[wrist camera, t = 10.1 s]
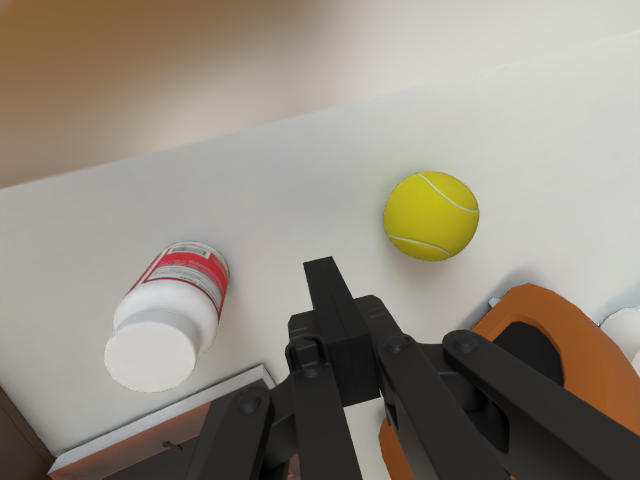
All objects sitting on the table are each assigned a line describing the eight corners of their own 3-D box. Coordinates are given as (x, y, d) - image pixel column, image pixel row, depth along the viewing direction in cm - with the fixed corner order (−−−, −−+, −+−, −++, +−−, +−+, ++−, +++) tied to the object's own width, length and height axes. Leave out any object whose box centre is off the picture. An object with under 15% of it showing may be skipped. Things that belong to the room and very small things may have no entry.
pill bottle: (181, 315, 29) (135, 420, 18) (138, 260, 27) (58, 345, 16) (243, 283, 29) (231, 371, 18) (204, 226, 26) (166, 290, 16)
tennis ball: (396, 153, 27) (437, 162, 21) (460, 185, 29) (517, 203, 22) (359, 227, 29) (387, 257, 22) (423, 253, 31) (465, 287, 24)
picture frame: (262, 360, 32) (61, 450, 32) (262, 379, 30) (45, 476, 29) (323, 460, 38) (155, 536, 38) (327, 482, 36) (148, 563, 35)
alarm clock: (513, 267, 33) (735, 393, 17) (559, 308, 36) (784, 449, 20) (366, 420, 37) (440, 635, 21) (418, 446, 40) (517, 652, 24)
